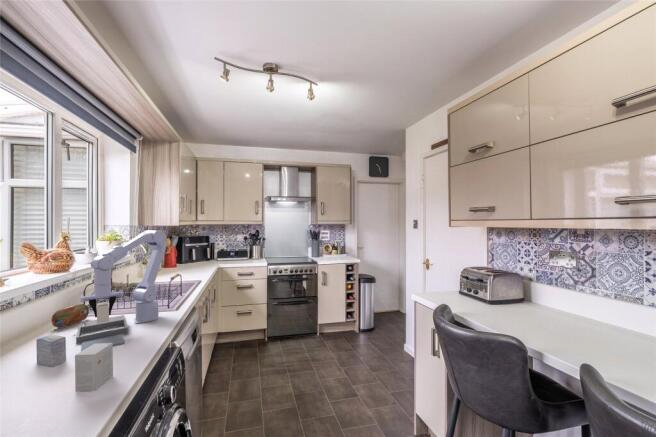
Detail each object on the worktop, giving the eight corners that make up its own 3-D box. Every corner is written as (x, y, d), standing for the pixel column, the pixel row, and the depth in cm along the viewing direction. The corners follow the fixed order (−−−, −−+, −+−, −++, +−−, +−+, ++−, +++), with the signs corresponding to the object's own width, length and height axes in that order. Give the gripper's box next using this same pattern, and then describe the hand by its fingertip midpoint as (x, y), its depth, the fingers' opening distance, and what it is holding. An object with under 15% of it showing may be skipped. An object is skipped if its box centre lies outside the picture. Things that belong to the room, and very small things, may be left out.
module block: (108, 317, 129) (108, 301, 129) (108, 321, 125) (108, 304, 125) (97, 319, 127) (97, 303, 127) (97, 323, 122) (96, 306, 122)
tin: (55, 330, 130) (55, 311, 130) (49, 330, 130) (49, 311, 130) (89, 319, 144) (89, 302, 144) (84, 318, 145) (84, 301, 145)
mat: (122, 335, 123) (122, 333, 123) (124, 343, 115) (123, 342, 115) (82, 343, 115) (82, 341, 115) (80, 353, 107) (80, 351, 107)
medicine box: (66, 361, 100) (66, 336, 101) (50, 367, 96) (50, 341, 96) (52, 358, 103) (51, 333, 103) (36, 364, 99) (35, 338, 99)
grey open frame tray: (124, 317, 147) (123, 311, 147) (127, 333, 125) (127, 326, 125) (80, 324, 136) (80, 318, 136) (76, 343, 115) (76, 336, 115)
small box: (94, 377, 90) (94, 343, 90) (113, 376, 91) (113, 342, 91) (74, 392, 82) (73, 355, 82) (95, 391, 83) (95, 354, 83)
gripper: (122, 280, 133) (122, 309, 133) (81, 284, 124) (81, 316, 124) (123, 282, 128) (123, 313, 128) (80, 287, 119) (80, 321, 119)
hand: (103, 315), depth 126 cm, fingers closed on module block, 4 cm apart
